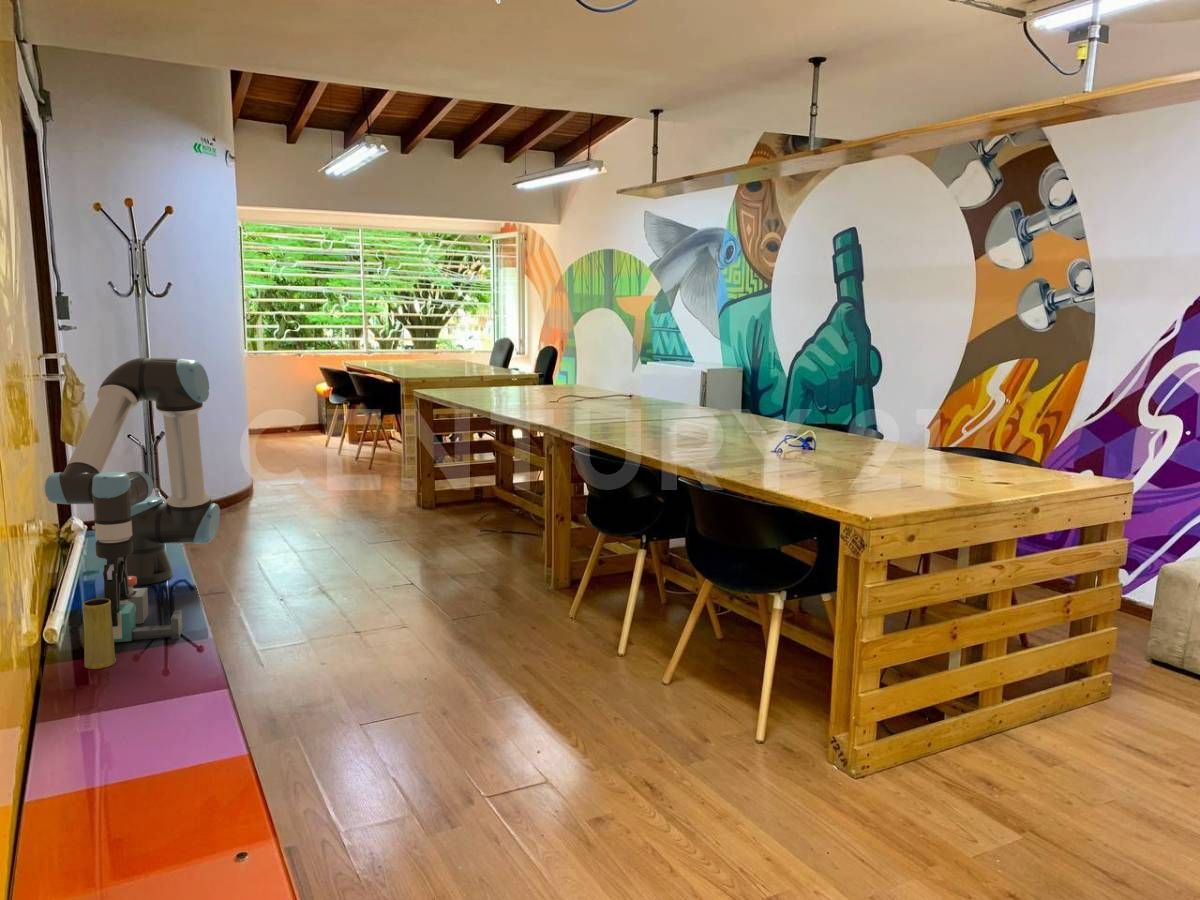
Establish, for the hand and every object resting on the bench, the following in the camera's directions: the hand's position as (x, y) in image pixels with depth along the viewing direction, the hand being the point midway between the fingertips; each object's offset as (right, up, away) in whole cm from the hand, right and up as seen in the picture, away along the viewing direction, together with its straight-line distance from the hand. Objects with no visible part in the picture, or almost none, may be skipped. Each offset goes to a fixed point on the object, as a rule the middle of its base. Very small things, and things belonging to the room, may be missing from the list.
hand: (118, 632), depth 201 cm
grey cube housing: (-4, 0, +12) cm, 13 cm away
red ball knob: (-4, +6, +12) cm, 14 cm away
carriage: (0, -2, 0) cm, 2 cm away
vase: (+4, -4, -14) cm, 15 cm away
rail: (+3, -2, +1) cm, 4 cm away
